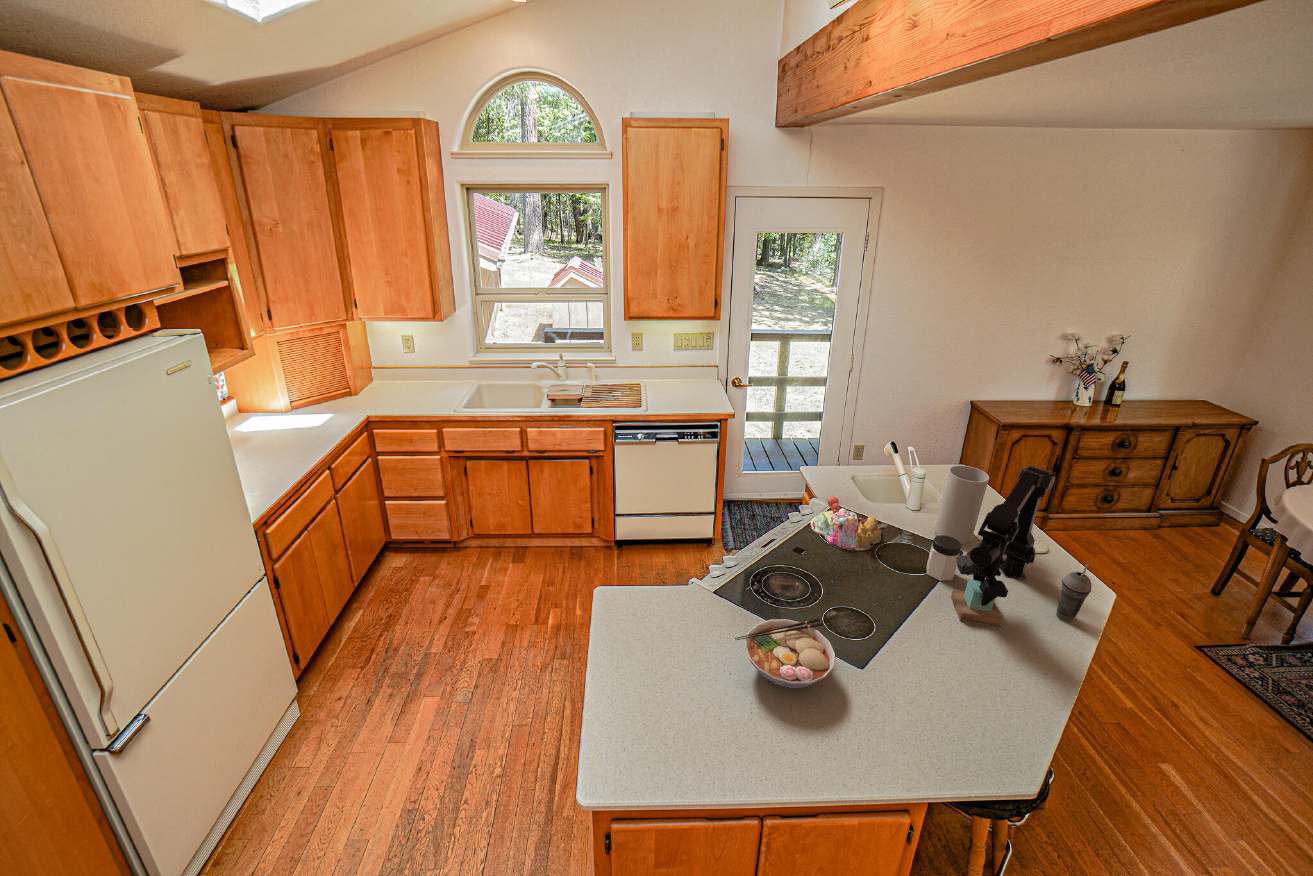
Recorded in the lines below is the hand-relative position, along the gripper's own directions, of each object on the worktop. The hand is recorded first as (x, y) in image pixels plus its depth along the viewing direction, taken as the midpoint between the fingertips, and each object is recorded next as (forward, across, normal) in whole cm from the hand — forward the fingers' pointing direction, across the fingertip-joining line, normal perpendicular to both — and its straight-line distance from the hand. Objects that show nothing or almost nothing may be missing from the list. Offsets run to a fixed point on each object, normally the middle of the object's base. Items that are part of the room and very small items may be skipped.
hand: (979, 596), depth 185 cm
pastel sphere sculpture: (+6, -37, -34) cm, 51 cm away
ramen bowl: (+6, +36, -56) cm, 67 cm away
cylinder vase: (+6, -43, +4) cm, 44 cm away
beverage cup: (+6, -3, +26) cm, 27 cm away
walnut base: (+6, 0, 0) cm, 6 cm away
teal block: (+2, 0, 0) cm, 2 cm away
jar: (+6, -18, -6) cm, 20 cm away
